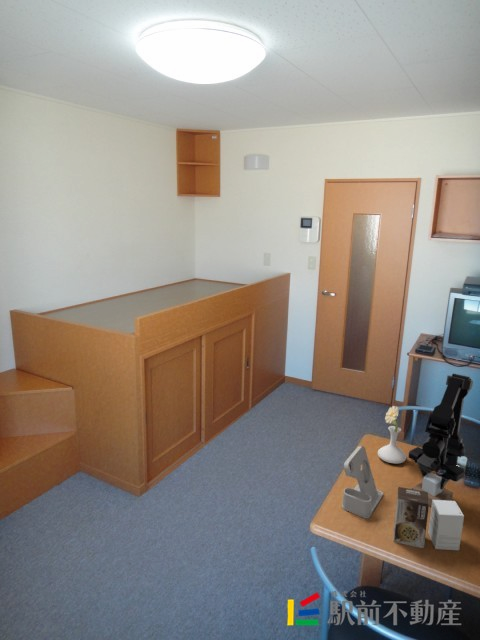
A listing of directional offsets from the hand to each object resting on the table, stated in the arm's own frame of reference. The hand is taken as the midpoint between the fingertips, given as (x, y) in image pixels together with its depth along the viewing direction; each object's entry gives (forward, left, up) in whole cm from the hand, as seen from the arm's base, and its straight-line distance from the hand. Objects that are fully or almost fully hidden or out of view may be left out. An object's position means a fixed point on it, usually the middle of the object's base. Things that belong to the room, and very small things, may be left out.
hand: (432, 484), depth 162 cm
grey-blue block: (0, 0, -2) cm, 2 cm away
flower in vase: (-9, -24, -6) cm, 26 cm away
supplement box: (+17, +15, -6) cm, 23 cm away
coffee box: (+25, +8, -6) cm, 27 cm away
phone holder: (+22, -13, -6) cm, 26 cm away
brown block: (0, 0, -6) cm, 6 cm away
